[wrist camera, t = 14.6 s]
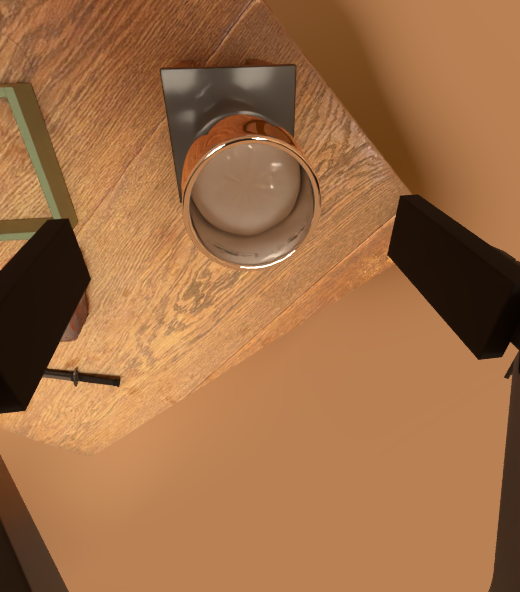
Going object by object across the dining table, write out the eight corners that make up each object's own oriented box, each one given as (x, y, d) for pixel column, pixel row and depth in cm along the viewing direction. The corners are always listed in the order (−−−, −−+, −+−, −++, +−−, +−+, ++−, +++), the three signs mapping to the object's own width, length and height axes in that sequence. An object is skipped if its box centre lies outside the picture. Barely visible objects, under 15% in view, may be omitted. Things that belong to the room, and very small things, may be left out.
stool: (179, 59, 43) (159, 68, 25) (260, 57, 44) (296, 64, 26) (190, 146, 49) (180, 203, 31) (261, 142, 49) (291, 196, 32)
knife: (-17, 377, 67) (-22, 361, 64) (-12, 370, 69) (-17, 353, 66) (117, 393, 72) (118, 379, 69) (120, 386, 74) (120, 371, 71)
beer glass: (210, 195, 31) (213, 292, 19) (174, 111, 27) (147, 166, 15) (285, 167, 30) (339, 248, 18) (260, 77, 26) (307, 103, 14)
